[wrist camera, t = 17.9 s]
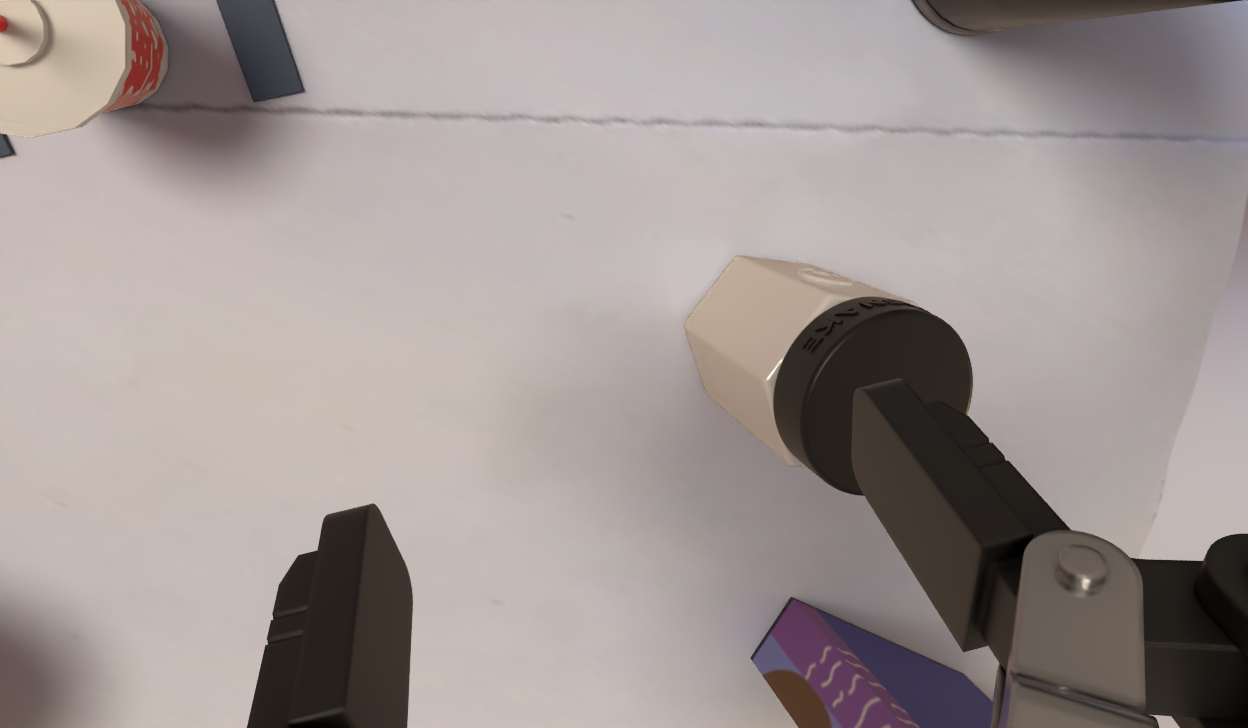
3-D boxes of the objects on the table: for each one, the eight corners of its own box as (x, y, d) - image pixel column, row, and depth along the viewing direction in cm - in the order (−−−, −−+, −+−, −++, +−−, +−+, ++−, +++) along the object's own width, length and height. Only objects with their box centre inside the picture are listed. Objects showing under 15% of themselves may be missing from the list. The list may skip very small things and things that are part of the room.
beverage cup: (77, 155, 31) (-129, 190, 18) (-36, -4, 28) (-367, -93, 15) (223, 90, 31) (125, 79, 19) (126, -70, 29) (-62, -207, 16)
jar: (844, 264, 43) (1006, 318, 32) (811, 403, 45) (953, 498, 34) (696, 246, 40) (819, 298, 29) (668, 395, 42) (774, 497, 31)
